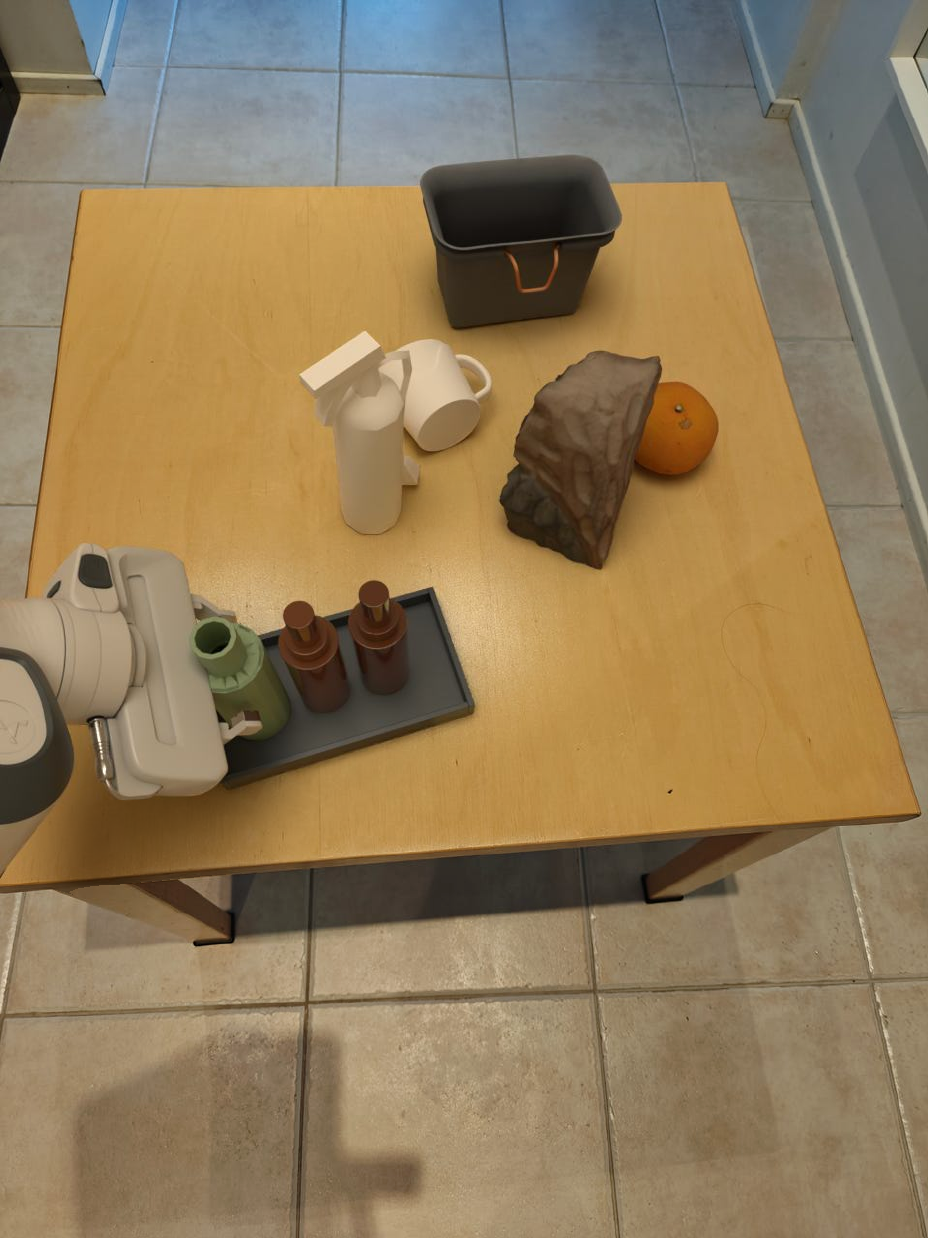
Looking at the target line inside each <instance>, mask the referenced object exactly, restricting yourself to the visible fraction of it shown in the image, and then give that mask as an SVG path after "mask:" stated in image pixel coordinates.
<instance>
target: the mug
mask: <svg viewBox="0 0 928 1238" xmlns="http://www.w3.org/2000/svg"><path fill="white" fill-rule="evenodd" d="M408 350H409V353H410V359H411V365H412V373H411V378H410V382H409V386H408V390H407V394H406V401H405V411H404V425H403V428H404V430H406V432H408V434H409V435H410V437H412V439H413V440H414V441H415V442H416V443H417V445H418V446H419V447H420V449H422V450H424V451H425V452H426V451H427V452H439V451H440V452H441V451H443V450H446V449H450V448H452V447H453V446H455V445H457V444H458V443H460V442H462V441H463V440H464V439H465V438H467V437H468V436H469V435H470V434H471V433H472V432H473V431H474V429H475V428H476V427H477V425H478V423H479V422H480V418H481V416H482V415H481V414H482V409H481V405H483V404H484V403H485V402H487V401H488V400H489V399H490V397H491V395H492V389H493V380H492V377H491V374H490V372H489V371H488V369H487V368H486V367H485V366H484V365H483V364H482V363H481V362H480V361H478V360H477V359H476V358H474V357H473V356H470V355H467V354H463V353H462V354H461V353H460V354H459V353H457V354H454V351H453V349H452V348H451V346H450V345H449V344H448V343H445V342H443V341H441V340H438V339H433V338H428V339H426V338H425V339H419V340H416V341H413V342H410V343H408V344H406V345H403V346H400V347H399V348H397V349H396V350H395V351H408ZM462 369H465V370H468V371H470V372H471V373H473V374H474V375H475V376H477V378H479V380H480V381H481V382H482V384H483V388H482V389H481V390H479V391H478V392H476V393H474V392H473V390H472V387H471V385H470V384H469V382H468V380H467V378H466V375H465V373H464V372H463V370H462ZM378 370H379V371H380V372H382V373H383V374H385V375H387V376H388V377H390V378H391V379H393V380H394V382H395V383H396V384H397V386H398V388H399V391H400V389H401V385H402V381H403V377H404V374H403V366H402V359H400V360H391V361H390V362H388V363H386V364H385V365H383V366H381V367H379V368H378Z"/></svg>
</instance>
